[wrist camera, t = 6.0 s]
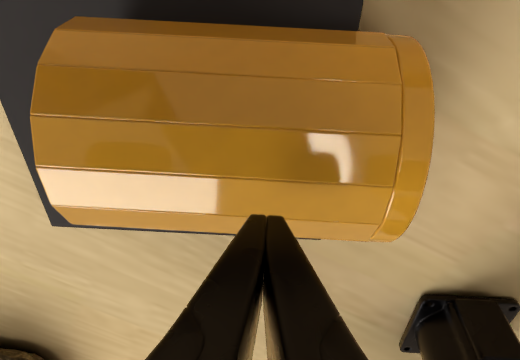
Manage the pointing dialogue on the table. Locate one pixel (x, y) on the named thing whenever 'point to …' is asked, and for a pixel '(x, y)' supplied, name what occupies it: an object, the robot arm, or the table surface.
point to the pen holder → (233, 127)
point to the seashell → (17, 355)
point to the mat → (131, 7)
